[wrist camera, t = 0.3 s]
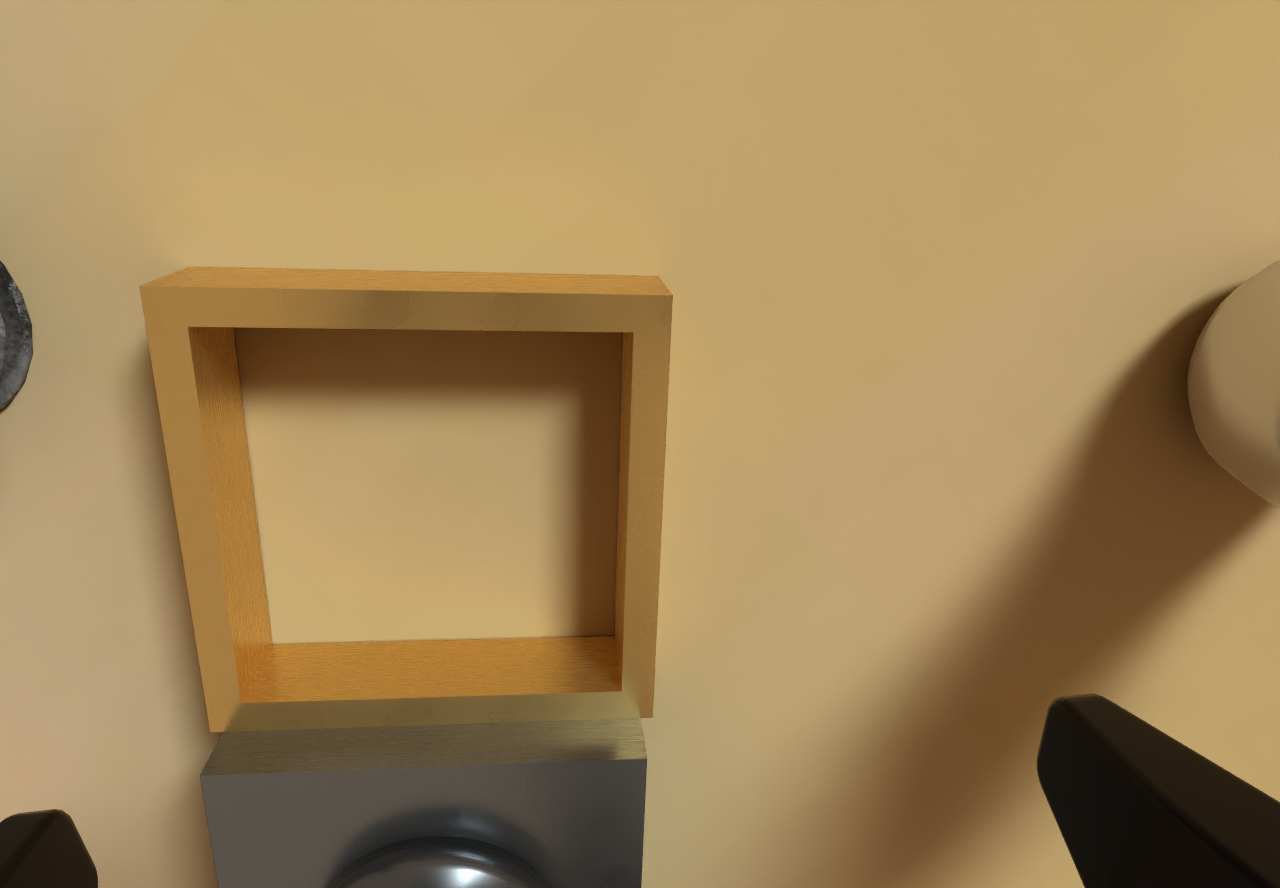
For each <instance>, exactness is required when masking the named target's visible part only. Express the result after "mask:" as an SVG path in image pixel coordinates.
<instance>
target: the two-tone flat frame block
mask: <svg viewBox="0 0 1280 888" xmlns="http://www.w3.org/2000/svg"><path fill="white" fill-rule="evenodd" d="M139 287H140V293H141V300H142V306H143V312H144V318H145V325H146V331H147V337H148V344H149V350H150V356H151V363H152V369H153V375H154V382H155V388H156V394H157V400H158V407H159V413H160V419H161V426H162V432H163V438H164V445H165V451H166V457H167V463H168V470H169V476H170V482H171V489H172V495H173V501H174V508H175V514H176V520H177V526H178V533H179V539H180V545H181V552H182V558H183V564H184V571H185V577H186V583H187V589H188V596H189V602H190V608H191V615H192V621H193V627H194V634H195V640H196V646H197V653H198V659H199V665H200V671H201V678H202V684H203V690H204V697H205V703H206V709H207V716H208V722H209V728H210V732H223V734H222V735H221V737H220V739H219V741H218V743H217V745H216V747H215V748H214V750H213V752H212V754H211V756H210V758H209V760H208V761H207V763H206V765H205V767H204V769H203V771H202V773H201V774H200V780H201V786H202V792H203V798H204V804H205V810H206V816H207V822H208V828H209V834H210V840H211V846H212V852H213V858H214V864H215V870H216V876H217V882H218V888H641V879H642V857H643V835H644V814H645V792H646V770H647V755H646V749H645V742H644V736H643V729H642V723H641V718H653V698H654V677H655V656H656V636H657V615H658V594H659V573H660V552H661V531H662V510H663V489H664V468H665V447H666V426H667V406H668V385H669V364H670V343H671V322H672V301H673V295H672V294H671V292H670V291H669V290H668V288H667V287H666V286H665V284H664V283H663V282H662V280H661V279H660V278H659V276H616V275H565V274H514V273H464V272H413V271H363V270H312V269H261V268H211V267H187V268H185V269H182V270H180V271H177V272H174V273H172V274H169V275H167V276H164V277H161V278H159V279H156V280H154V281H151V282H149V283H146V284H143V285H141V286H139ZM233 327H250V328H328V329H405V330H483V331H560V332H623V358H622V393H621V427H620V462H619V496H618V531H617V565H616V600H615V634H614V636H601V637H559V638H517V639H474V640H432V641H390V642H348V643H306V644H272V636H271V628H270V620H269V612H268V604H267V596H266V588H265V580H264V571H263V563H262V555H261V547H260V539H259V531H258V523H257V515H256V507H255V499H254V491H253V483H252V475H251V467H250V459H249V451H248V443H247V435H246V427H245V419H244V411H243V403H242V395H241V387H240V379H239V370H238V362H237V354H236V346H235V338H234V330H233Z"/></svg>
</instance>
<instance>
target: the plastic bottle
mask: <svg viewBox="0 0 1280 888" xmlns="http://www.w3.org/2000/svg"><path fill="white" fill-rule="evenodd" d="M1187 382H1188V400H1189V405H1190V410H1191V414H1192V418H1193V422H1194V426H1195V429H1196V433H1197V435H1198V437H1199V439H1200V441H1201V442H1202V444H1203V446H1204V448H1205V450H1206V451H1207V452H1208V453H1209V455H1210V456H1211V457H1212V458H1213V459H1214V460H1215V461H1216V462H1217V463H1218V465H1220V466H1221V467H1222V468H1223V469H1225V470H1226V471H1227V472H1228V473H1230V474H1231V475H1232V476H1233V477H1235V478H1236V479H1237V480H1238V481H1240V482H1241V483H1242V484H1243V485H1245V486H1246V487H1247V488H1248V489H1250V490H1251V491H1252V492H1254V493H1255V494H1257V495H1258V496H1260V497H1261V498H1263V499H1264V500H1266V501H1267V502H1269V503H1271V504H1274V505H1277V506H1279V507H1280V260H1279V261H1277V262H1275V263H1273V264H1271V265H1270V266H1268V267H1267V268H1265V269H1264V270H1262V271H1261V272H1259V273H1258V274H1256V275H1255V276H1253V277H1252V278H1250V279H1249V280H1247V281H1246V282H1245V283H1243V284H1242V285H1240V286H1239V287H1237V288H1236V289H1235V290H1234V291H1233V292H1232V293H1231V294H1230V295H1229V296H1228V297H1227V298H1226V299H1225V300H1224V301H1223V302H1222V303H1221V304H1220V305H1219V306H1218V308H1217V309H1216V310H1215V312H1214V313H1213V314H1212V315H1211V317H1210V318H1209V319H1208V321H1207V323H1206V324H1205V326H1204V328H1203V330H1202V332H1201V334H1200V336H1199V337H1198V339H1197V342H1196V345H1195V348H1194V351H1193V354H1192V357H1191V360H1190V366H1189V372H1188V379H1187Z"/></svg>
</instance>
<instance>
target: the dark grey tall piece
mask: <svg viewBox="0 0 1280 888" xmlns="http://www.w3.org/2000/svg"><path fill="white" fill-rule="evenodd" d="M32 355H33V349H32V324H31V321H30V318H29V315H28V312H27V308H26V305H25V302H24V299H23V296H22V293H21V292H20V290H19V289H18V287H17V285H16V284H15V282H14V280H13V279H12V277H11V276H10V274H9V272H8V271H7V269H6V267H5V266H4V264H3V263H2V262H1V261H0V410H2V409H3V408H4V407H5V406H7V405H8V404H9V403H10V402H11V401H12V399H13V398H14V396H15V395H16V394H17V392H18V391H19V389H20V388H21V386H22V385H23V383H24V382H25V380H26V376H27V373H28V369H29V365H30V362H31V358H32Z"/></svg>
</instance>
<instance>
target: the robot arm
mask: <svg viewBox="0 0 1280 888" xmlns="http://www.w3.org/2000/svg"><path fill="white" fill-rule="evenodd" d="M1037 772H1038V777H1039V781H1040V784H1041V786H1042V789H1043V791H1044V794H1045V796H1046V798H1047V801H1048V803H1049V805H1050V808H1051V810H1052V812H1053V815H1054V817H1055V819H1056V822H1057V824H1058V826H1059V829H1060V831H1061V833H1062V836H1063V838H1064V840H1065V843H1066V845H1067V847H1068V850H1069V852H1070V854H1071V857H1072V859H1073V861H1074V864H1075V866H1076V868H1077V871H1078V873H1079V875H1080V878H1081V880H1082V882H1083V885H1084V887H1085V888H1280V802H1279V801H1277V800H1275V799H1274V798H1272V797H1270V796H1269V795H1267V794H1265V793H1264V792H1262V791H1260V790H1259V789H1257V788H1255V787H1254V786H1252V785H1250V784H1249V783H1247V782H1245V781H1244V780H1242V779H1240V778H1238V777H1237V776H1235V775H1233V774H1232V773H1230V772H1228V771H1227V770H1225V769H1223V768H1222V767H1220V766H1218V765H1217V764H1215V763H1213V762H1212V761H1210V760H1208V759H1207V758H1205V757H1203V756H1202V755H1200V754H1198V753H1197V752H1195V751H1193V750H1192V749H1190V748H1188V747H1187V746H1185V745H1183V744H1182V743H1180V742H1178V741H1177V740H1175V739H1173V738H1172V737H1170V736H1168V735H1167V734H1165V733H1163V732H1162V731H1160V730H1158V729H1157V728H1155V727H1153V726H1152V725H1150V724H1148V723H1147V722H1145V721H1143V720H1142V719H1140V718H1138V717H1137V716H1135V715H1133V714H1132V713H1130V712H1128V711H1127V710H1125V709H1123V708H1122V707H1120V706H1118V705H1117V704H1115V703H1113V702H1111V701H1110V700H1108V699H1106V698H1104V697H1102V696H1100V695H1097V694H1082V695H1073V696H1064V697H1058V698H1056V699H1054V700H1053V701H1052V703H1051V704H1050V705H1049V708H1048V712H1047V716H1046V720H1045V725H1044V729H1043V733H1042V738H1041V742H1040V747H1039V751H1038V755H1037ZM0 888H98V877H97V871H96V868H95V865H94V863H93V861H92V859H91V857H90V855H89V853H88V851H87V849H86V847H85V845H84V843H83V841H82V839H81V837H80V835H79V833H78V831H77V829H76V827H75V825H74V823H73V821H72V819H71V817H70V816H69V815H68V814H67V813H65V812H64V811H62V810H57V809H53V810H44V811H35V812H26V813H18V814H15V815H12V816H10V817H8V818H6V819H4V820H3V821H2V822H0Z"/></svg>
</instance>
